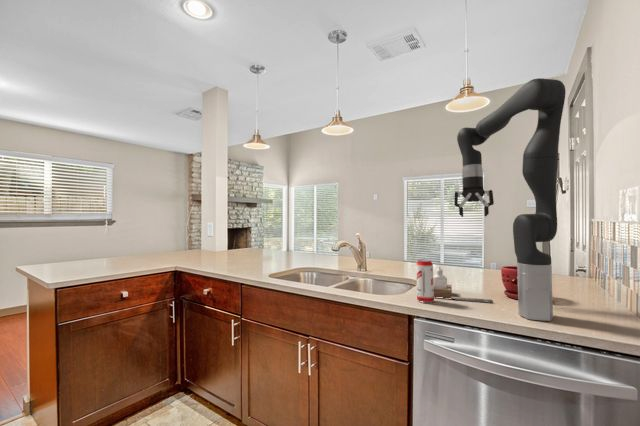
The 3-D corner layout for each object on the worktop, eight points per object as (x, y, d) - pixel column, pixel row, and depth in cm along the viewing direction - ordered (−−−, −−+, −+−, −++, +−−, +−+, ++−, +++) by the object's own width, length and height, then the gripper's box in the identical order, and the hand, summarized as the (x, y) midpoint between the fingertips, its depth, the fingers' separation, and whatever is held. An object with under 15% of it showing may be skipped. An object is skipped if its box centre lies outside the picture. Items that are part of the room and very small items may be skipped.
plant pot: (549, 301, 118) (548, 269, 119) (513, 301, 119) (513, 270, 119) (526, 293, 131) (526, 264, 132) (495, 293, 132) (494, 265, 132)
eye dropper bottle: (445, 297, 127) (444, 267, 127) (431, 295, 131) (430, 266, 131) (448, 295, 131) (447, 266, 131) (435, 293, 134) (434, 265, 134)
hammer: (493, 303, 117) (493, 294, 117) (427, 298, 127) (426, 289, 127) (490, 295, 128) (490, 287, 128) (429, 291, 138) (429, 283, 138)
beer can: (431, 299, 125) (430, 259, 125) (435, 303, 118) (434, 261, 119) (415, 299, 125) (414, 259, 125) (419, 303, 119) (417, 261, 119)
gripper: (453, 176, 126) (454, 216, 126) (493, 174, 121) (494, 216, 120) (453, 179, 133) (454, 217, 133) (491, 176, 128) (492, 216, 127)
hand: (473, 216), depth 127 cm, fingers open, 8 cm apart
